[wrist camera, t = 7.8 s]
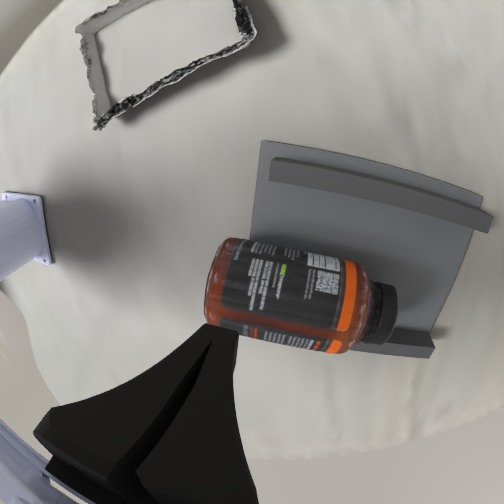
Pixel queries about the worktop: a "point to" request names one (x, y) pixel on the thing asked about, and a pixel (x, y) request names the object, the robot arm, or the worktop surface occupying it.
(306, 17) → the worktop surface
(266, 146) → the mat
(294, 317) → the supplement bottle
